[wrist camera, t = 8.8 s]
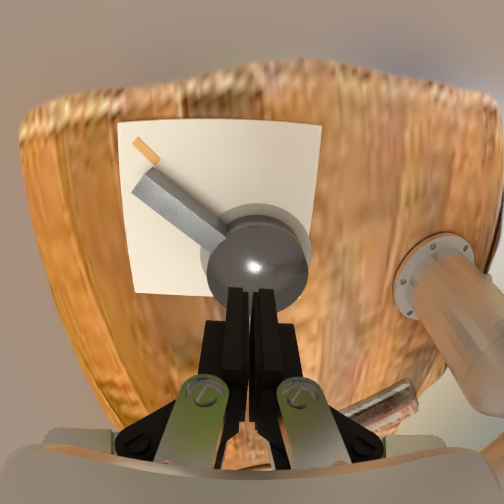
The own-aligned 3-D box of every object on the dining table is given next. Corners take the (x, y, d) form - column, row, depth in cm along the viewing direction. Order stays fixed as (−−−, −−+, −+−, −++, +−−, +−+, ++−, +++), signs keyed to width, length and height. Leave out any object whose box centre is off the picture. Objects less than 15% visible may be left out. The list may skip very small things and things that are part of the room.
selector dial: (320, 254, 30) (328, 272, 27) (258, 309, 33) (260, 330, 30) (178, 134, 25) (169, 139, 22) (122, 210, 28) (109, 224, 25)
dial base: (323, 125, 26) (328, 126, 25) (301, 294, 35) (303, 303, 33) (123, 121, 25) (116, 123, 24) (139, 288, 34) (135, 297, 32)
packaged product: (416, 395, 40) (424, 415, 44) (406, 374, 44) (416, 396, 48) (318, 440, 45) (339, 454, 49) (314, 418, 49) (334, 435, 53)
